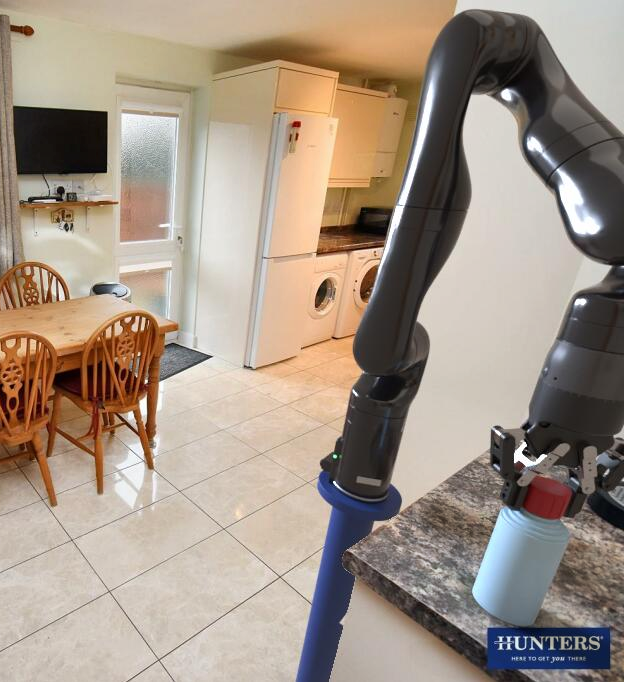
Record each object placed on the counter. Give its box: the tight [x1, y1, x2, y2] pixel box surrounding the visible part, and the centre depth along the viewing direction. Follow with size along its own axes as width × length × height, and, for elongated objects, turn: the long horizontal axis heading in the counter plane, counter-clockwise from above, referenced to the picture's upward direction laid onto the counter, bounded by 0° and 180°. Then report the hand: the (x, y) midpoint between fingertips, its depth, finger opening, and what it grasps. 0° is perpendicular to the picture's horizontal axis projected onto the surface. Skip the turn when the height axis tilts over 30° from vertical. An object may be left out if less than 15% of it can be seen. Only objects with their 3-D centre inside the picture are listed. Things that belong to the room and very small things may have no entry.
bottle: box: [471, 505, 571, 627], centre depth 56 cm, size 6×6×18 cm
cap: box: [522, 475, 572, 519], centre depth 53 cm, size 4×4×3 cm
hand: (536, 509), depth 54 cm, fingers open, 5 cm apart
